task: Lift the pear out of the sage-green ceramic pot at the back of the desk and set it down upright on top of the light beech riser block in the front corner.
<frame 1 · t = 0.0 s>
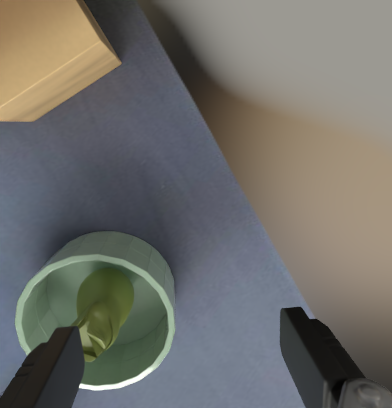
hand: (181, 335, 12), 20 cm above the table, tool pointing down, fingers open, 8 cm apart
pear: (111, 281, 33), resting on pot
pot: (110, 291, 33), on the table
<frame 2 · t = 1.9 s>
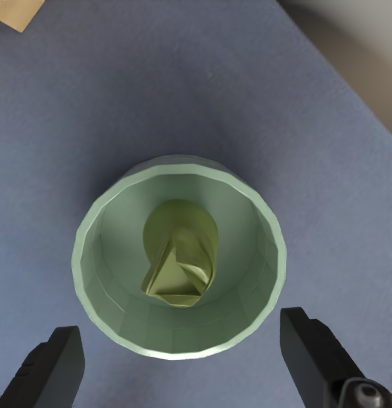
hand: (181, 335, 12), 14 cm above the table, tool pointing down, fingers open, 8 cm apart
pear: (178, 222, 25), resting on pot
pot: (180, 237, 26), on the table
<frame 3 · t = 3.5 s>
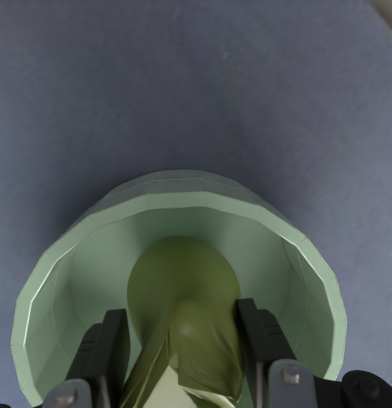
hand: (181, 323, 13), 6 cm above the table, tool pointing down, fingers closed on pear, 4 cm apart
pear: (180, 264, 18), resting on pot, touching gripper
pot: (182, 283, 19), on the table
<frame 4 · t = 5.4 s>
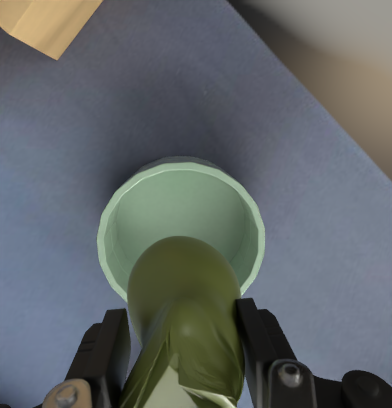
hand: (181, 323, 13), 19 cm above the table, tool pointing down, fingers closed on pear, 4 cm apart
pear: (179, 264, 18), point 13 cm above the table, touching gripper
pot: (181, 224, 32), on the table
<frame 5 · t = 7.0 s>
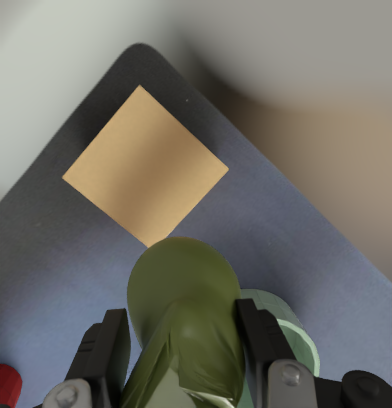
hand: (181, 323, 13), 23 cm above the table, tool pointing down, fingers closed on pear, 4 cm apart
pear: (180, 265, 18), point 17 cm above the table, touching gripper
riser: (146, 173, 26), on the table
pot: (245, 338, 39), on the table
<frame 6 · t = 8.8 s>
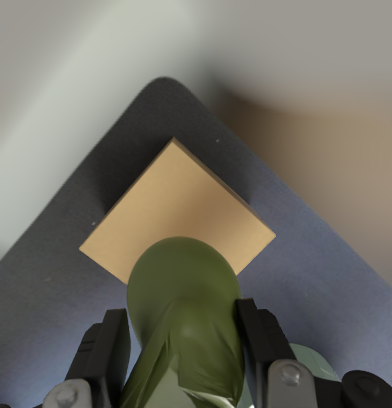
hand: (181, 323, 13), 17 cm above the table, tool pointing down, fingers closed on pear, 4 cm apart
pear: (179, 264, 18), point 12 cm above the table, touching gripper
riser: (178, 242, 22), on the table
pot: (276, 393, 36), on the table
when the fingers open (13 cm above the table, at t = 10.3 s): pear stays where it is, resting on riser.
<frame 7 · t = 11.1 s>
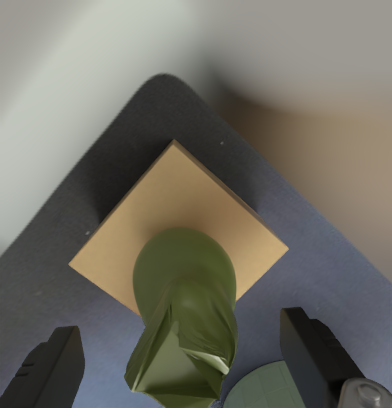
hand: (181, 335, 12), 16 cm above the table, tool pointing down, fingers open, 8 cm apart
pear: (180, 254, 20), point 8 cm above the table, touching riser
riser: (180, 256, 19), on the table
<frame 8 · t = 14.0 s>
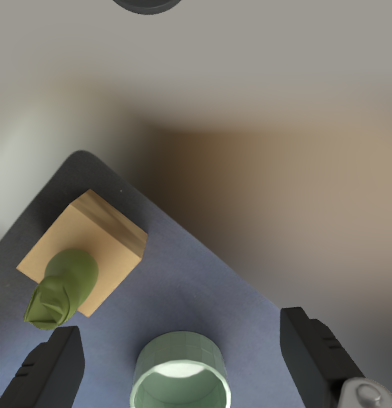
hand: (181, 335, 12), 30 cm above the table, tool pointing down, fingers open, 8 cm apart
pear: (80, 262, 35), point 8 cm above the table, touching riser
riser: (79, 263, 35), on the table
pot: (180, 368, 49), on the table
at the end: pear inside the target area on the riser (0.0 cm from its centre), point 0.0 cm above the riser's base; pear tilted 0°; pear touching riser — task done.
